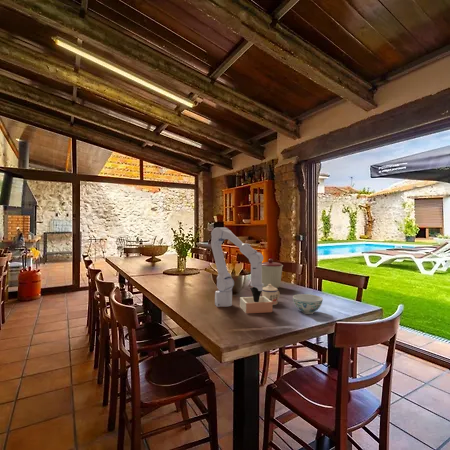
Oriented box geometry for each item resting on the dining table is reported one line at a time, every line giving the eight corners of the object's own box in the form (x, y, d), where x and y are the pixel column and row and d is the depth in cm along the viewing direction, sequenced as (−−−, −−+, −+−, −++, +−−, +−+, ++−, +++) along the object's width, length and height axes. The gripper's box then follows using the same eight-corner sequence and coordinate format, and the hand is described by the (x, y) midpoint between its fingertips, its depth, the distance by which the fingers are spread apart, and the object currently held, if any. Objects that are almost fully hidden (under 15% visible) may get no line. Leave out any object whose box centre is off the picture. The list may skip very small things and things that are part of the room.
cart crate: (245, 315, 144) (245, 303, 144) (239, 308, 156) (239, 297, 156) (272, 313, 147) (272, 301, 147) (264, 307, 159) (264, 296, 159)
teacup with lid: (269, 307, 158) (269, 286, 158) (258, 304, 165) (258, 283, 165) (284, 304, 164) (285, 284, 164) (273, 301, 172) (273, 281, 172)
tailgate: (246, 313, 143) (246, 303, 143) (246, 313, 144) (246, 303, 144) (272, 312, 146) (272, 302, 146) (271, 311, 147) (271, 301, 147)
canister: (280, 285, 219) (280, 257, 219) (285, 290, 201) (285, 260, 201) (257, 284, 219) (257, 257, 219) (259, 290, 201) (259, 260, 201)
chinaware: (316, 308, 157) (316, 294, 157) (327, 316, 142) (327, 301, 142) (289, 308, 157) (289, 294, 157) (297, 317, 142) (297, 301, 142)
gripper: (268, 277, 144) (268, 305, 144) (259, 273, 158) (259, 298, 158) (254, 278, 143) (254, 305, 143) (246, 273, 157) (246, 298, 157)
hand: (256, 301), depth 150 cm, fingers closed
